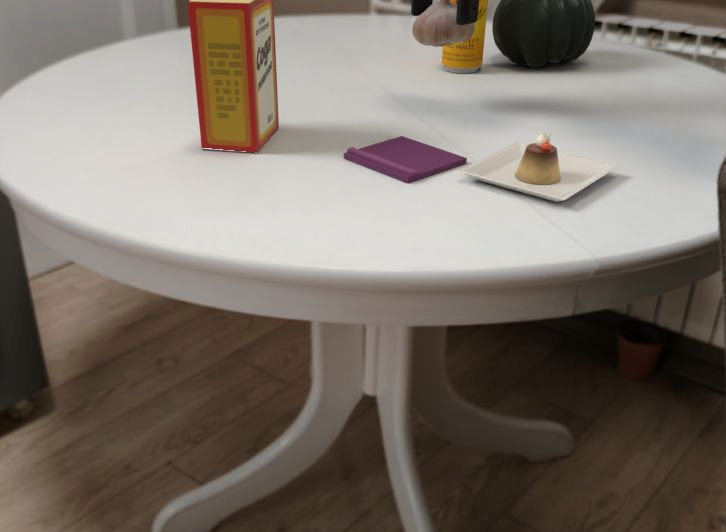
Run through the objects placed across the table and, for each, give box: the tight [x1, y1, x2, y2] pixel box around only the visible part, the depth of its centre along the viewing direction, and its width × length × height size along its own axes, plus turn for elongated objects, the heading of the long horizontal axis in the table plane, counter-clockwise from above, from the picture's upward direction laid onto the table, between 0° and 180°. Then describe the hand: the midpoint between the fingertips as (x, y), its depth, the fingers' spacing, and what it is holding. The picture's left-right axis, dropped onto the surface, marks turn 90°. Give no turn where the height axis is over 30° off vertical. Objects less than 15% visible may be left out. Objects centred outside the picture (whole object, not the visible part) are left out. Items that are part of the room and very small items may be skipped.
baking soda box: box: [187, 0, 280, 153], centre depth 90 cm, size 10×6×16 cm
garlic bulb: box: [411, 0, 475, 48], centre depth 98 cm, size 8×7×8 cm
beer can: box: [441, 0, 489, 74], centre depth 118 cm, size 6×6×15 cm
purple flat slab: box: [343, 135, 468, 184], centre depth 88 cm, size 10×9×1 cm
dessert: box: [457, 132, 619, 203], centre depth 82 cm, size 12×12×5 cm
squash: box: [491, 0, 596, 68], centre depth 122 cm, size 14×15×15 cm
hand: (443, 17), depth 99 cm, fingers closed on garlic bulb, 6 cm apart
